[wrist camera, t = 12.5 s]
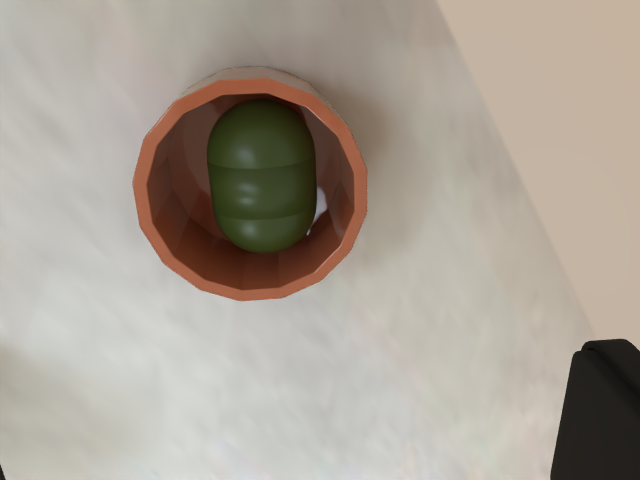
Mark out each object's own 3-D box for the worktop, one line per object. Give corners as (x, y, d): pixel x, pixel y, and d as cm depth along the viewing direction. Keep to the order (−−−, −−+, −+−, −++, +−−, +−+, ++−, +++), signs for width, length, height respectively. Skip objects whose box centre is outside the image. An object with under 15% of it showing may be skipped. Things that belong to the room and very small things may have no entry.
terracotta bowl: (145, 70, 27) (114, 84, 22) (347, 62, 28) (367, 73, 22) (173, 256, 31) (153, 307, 26) (350, 244, 32) (367, 292, 26)
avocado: (197, 95, 27) (203, 111, 22) (300, 89, 28) (326, 102, 23) (214, 237, 30) (222, 278, 25) (306, 226, 31) (330, 263, 26)
